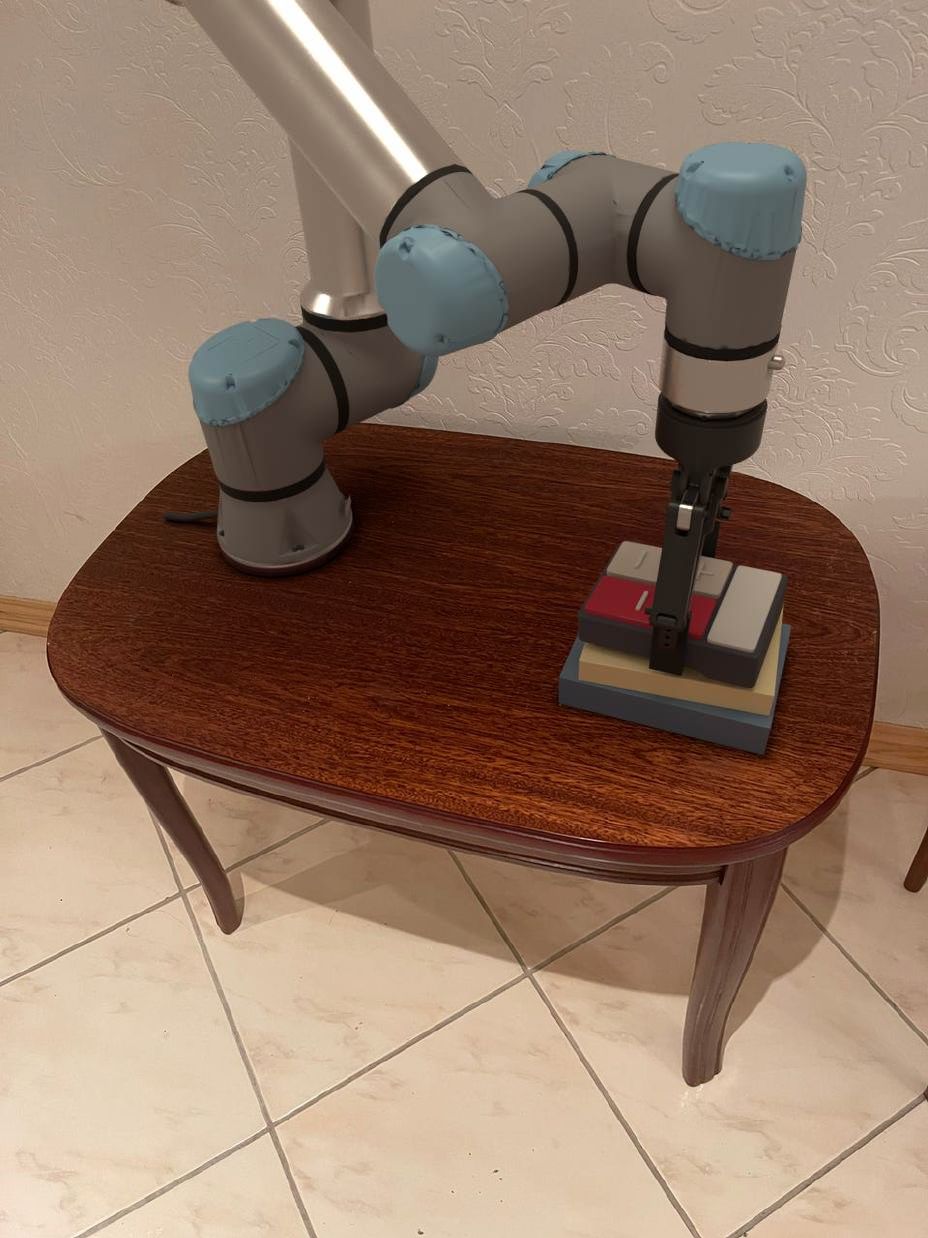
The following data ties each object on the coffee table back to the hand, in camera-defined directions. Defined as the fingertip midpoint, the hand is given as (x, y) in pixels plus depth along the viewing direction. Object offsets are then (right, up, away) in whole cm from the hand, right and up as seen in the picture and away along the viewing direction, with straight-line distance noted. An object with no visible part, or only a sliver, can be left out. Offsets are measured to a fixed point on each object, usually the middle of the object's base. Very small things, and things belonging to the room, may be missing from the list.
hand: (681, 622), depth 77 cm
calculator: (0, 0, 0) cm, 0 cm away
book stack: (0, -5, +5) cm, 7 cm away
